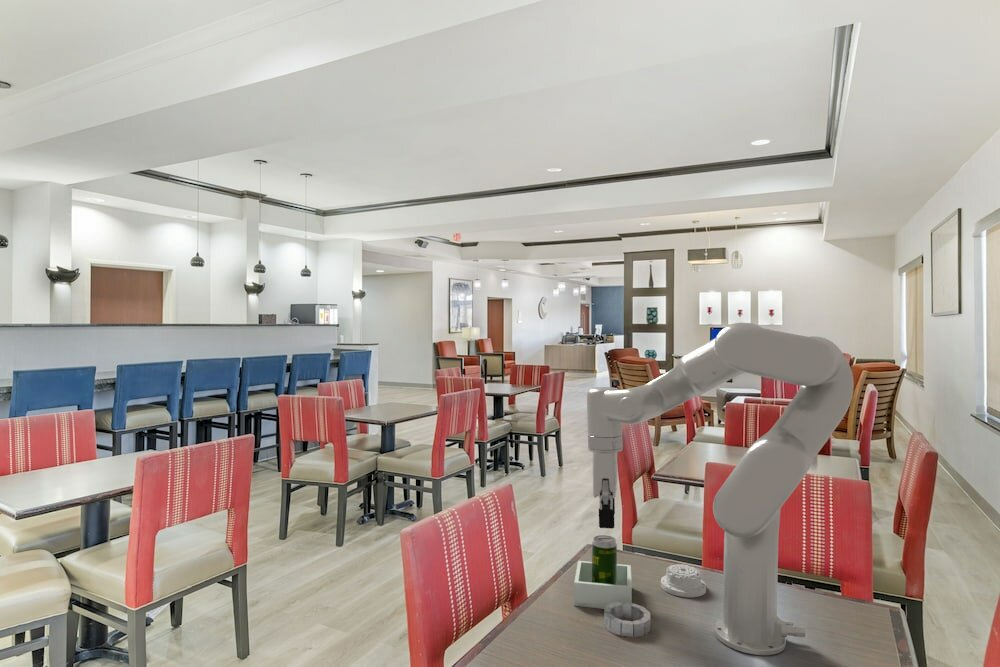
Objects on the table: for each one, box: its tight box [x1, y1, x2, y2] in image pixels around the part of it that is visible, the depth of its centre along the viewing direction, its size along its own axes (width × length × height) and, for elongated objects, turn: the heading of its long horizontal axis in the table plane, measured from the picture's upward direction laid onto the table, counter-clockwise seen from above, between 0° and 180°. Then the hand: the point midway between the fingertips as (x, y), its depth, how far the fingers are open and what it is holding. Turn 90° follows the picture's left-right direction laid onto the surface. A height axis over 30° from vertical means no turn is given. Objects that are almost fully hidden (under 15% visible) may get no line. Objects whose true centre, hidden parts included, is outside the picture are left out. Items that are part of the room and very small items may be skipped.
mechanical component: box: [660, 563, 707, 598], centre depth 134 cm, size 10×4×10 cm
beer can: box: [591, 534, 618, 585], centre depth 129 cm, size 5×5×12 cm
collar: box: [603, 602, 652, 638], centre depth 117 cm, size 9×9×2 cm
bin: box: [573, 560, 633, 610], centre depth 130 cm, size 12×12×5 cm
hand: (607, 520), depth 129 cm, fingers open, 9 cm apart
